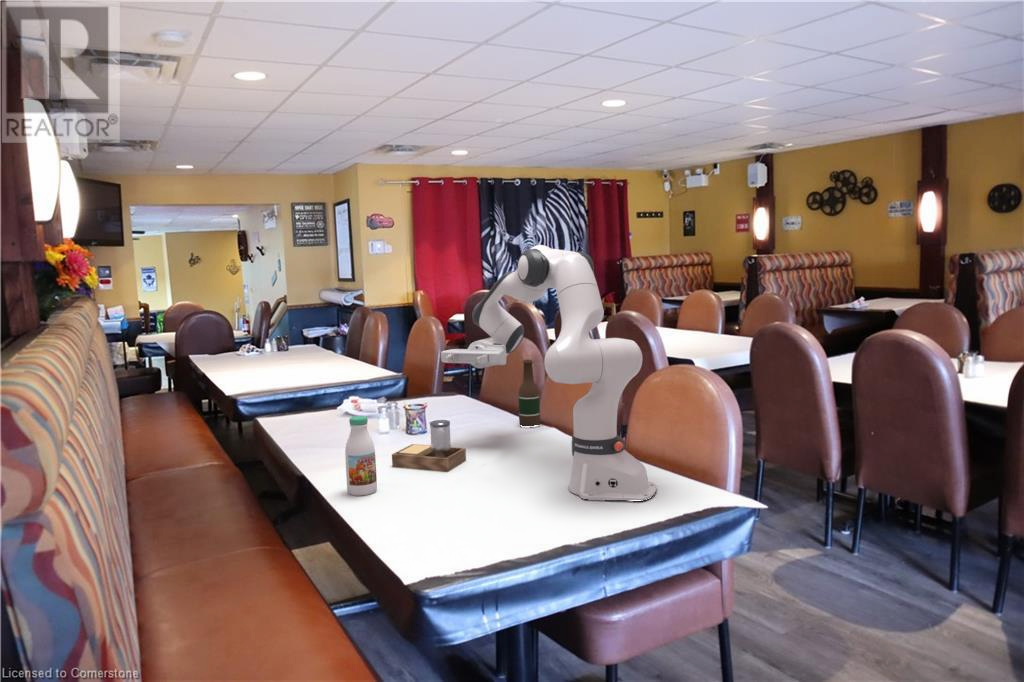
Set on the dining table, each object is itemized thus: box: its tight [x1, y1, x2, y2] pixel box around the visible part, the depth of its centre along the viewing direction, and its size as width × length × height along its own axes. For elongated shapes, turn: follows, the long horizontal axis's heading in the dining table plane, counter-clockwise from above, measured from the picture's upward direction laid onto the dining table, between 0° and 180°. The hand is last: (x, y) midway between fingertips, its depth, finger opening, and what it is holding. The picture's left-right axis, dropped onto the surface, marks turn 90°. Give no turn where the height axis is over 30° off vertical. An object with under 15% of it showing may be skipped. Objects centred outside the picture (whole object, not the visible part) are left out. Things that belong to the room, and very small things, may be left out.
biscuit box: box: [399, 444, 432, 456], centre depth 211 cm, size 6×9×4 cm, turn 158°
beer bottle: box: [517, 359, 541, 426], centre depth 256 cm, size 8×8×24 cm
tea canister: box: [429, 419, 452, 458], centre depth 208 cm, size 6×6×13 cm
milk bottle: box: [344, 415, 378, 497], centre depth 187 cm, size 8×8×20 cm
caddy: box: [391, 443, 467, 473], centre depth 210 cm, size 18×12×4 cm, turn 68°
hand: (462, 360), depth 216 cm, fingers open, 8 cm apart
